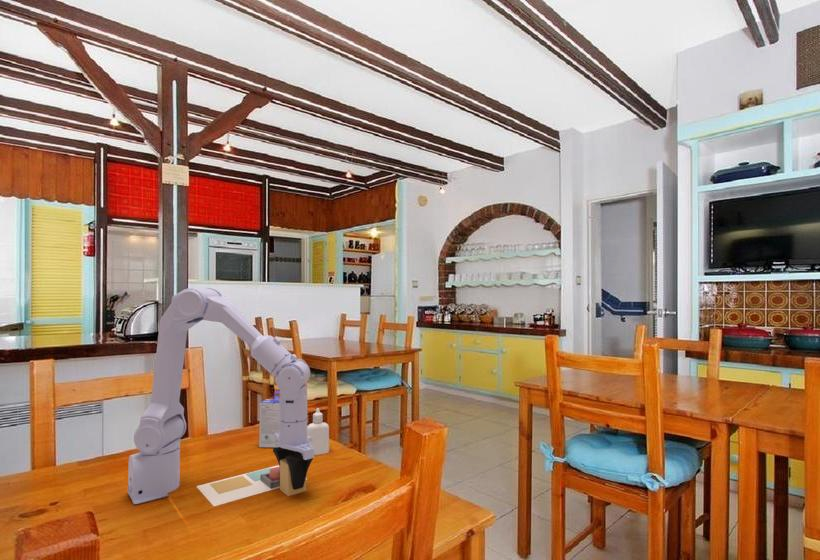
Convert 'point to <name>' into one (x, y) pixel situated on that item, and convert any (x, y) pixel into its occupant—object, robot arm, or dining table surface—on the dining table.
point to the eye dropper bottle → (319, 434)
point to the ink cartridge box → (269, 421)
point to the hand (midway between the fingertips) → (293, 484)
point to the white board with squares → (239, 487)
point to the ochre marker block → (288, 480)
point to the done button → (274, 474)
